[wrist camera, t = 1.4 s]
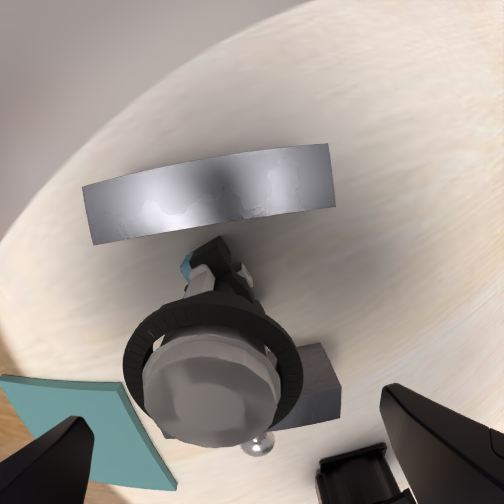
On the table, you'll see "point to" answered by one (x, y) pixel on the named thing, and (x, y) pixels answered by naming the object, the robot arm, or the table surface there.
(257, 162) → the grey slab pair
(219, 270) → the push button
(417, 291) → the table surface
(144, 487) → the teal rubber mat
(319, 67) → the table surface
